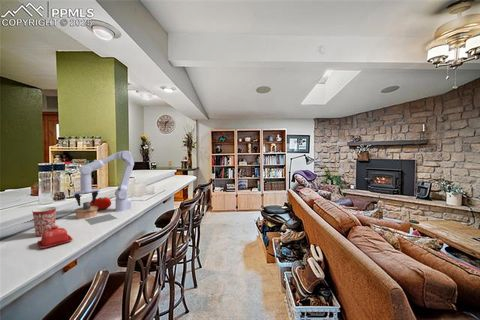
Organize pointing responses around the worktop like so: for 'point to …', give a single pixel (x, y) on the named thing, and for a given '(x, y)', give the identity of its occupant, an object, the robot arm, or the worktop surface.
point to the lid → (86, 208)
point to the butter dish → (54, 237)
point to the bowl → (86, 215)
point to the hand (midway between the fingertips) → (86, 204)
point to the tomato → (101, 203)
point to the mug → (43, 219)
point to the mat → (100, 219)
